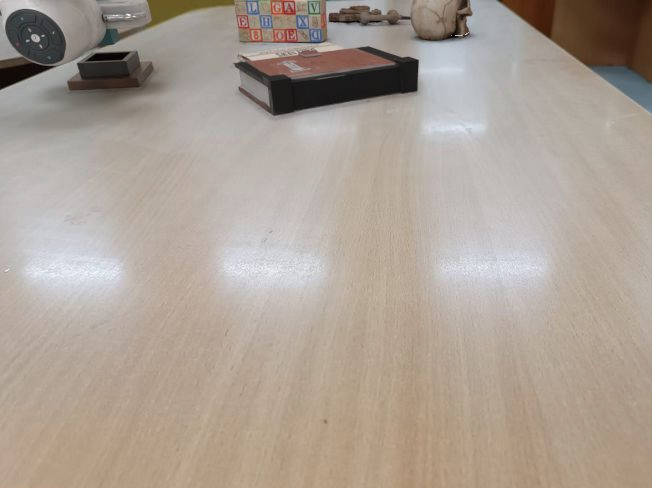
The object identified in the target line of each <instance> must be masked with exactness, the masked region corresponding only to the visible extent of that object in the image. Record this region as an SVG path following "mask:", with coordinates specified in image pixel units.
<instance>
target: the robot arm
mask: <svg viewBox="0 0 652 488" xmlns="http://www.w3.org/2000/svg"><path fill="white" fill-rule="evenodd" d="M0 16H1V23H2V30H3V34H4V36H5V38H6V41H7V42H8V43H9V45H10V46H11V48H12V49H13V50H14V51H15V52H16V53H17V54H19V55H20V56H21V57H22V58H24V59H26V60H28V61H29V62H32V63H33V64H34V63H35V64H36V65H37V64H38V65H40V66H47V67H56V66H62V65H66V64H68V63H70V62H72V61H75V60H76V59H78V58H80V57H82V55H84V54H85V53H87V52H88V51H90V50H92V49H93V48H95V47H96V45H97V44H99V43H100V42H101V41H102V39H103V38H104V35H105V32H106V29H117V30H119V29H120V30H121V29H134V28H139V27H140V28H141V27H144V26H146V25H148V24H151V22H152V14H151V10H150V5H149V2H148V0H97V1H95V0H0Z"/></svg>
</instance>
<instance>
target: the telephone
mask: <svg viewBox="0 0 652 488" xmlns="http://www.w3.org/2000/svg"><path fill="white" fill-rule="evenodd" d="M382 13H383V12H382V10H381V9H379V8H374V9H371V6H369V5H351V6H350V7H347V8H345V7H342V8H340V9H339V11H338V12H329V13H328V22H355V21H356V22H359V23H360V24H361V25H367V24H369V23H370V22H384V21H387V22H388V24H390V25H391V24H393V25H394V24H396V23H397V22H398V21H411V17H410V16H409V15H408V16H407V15H406V16H405V15H402V14H399V12H398V11H397V10H396V9H390V10H388V11H387V12H386V14H382Z"/></svg>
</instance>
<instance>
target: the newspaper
mask: <svg viewBox="0 0 652 488" xmlns="http://www.w3.org/2000/svg"><path fill="white" fill-rule="evenodd" d="M342 49H346V48H345V47H343V46H341V45H338V44H335V43H332V42H329V41H326V42H324V41H323V42H316V43H310V44H303V45H302V44H301V45H295V46H288V47H281V48H280V47H279V48H274V49H273V48H272V49H265V50H257V51H256V50H255V51H250V52H249V51H248V52H241V53H237V54H236V60H237V61H234V62H232V64H233V65H235V63H238V62H246V61H254V60H262V59H270V58H278V57H286V56H294V55H298V52H302V51H307V50H309V51H311V50H315V51H317V52H326V51H334V50H342Z"/></svg>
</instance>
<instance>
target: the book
mask: <svg viewBox="0 0 652 488" xmlns="http://www.w3.org/2000/svg"><path fill="white" fill-rule="evenodd" d="M237 62H238V63H235V62H234V67H235V68H236V69H238V70H239V78H240V84H241V85H238V86H237V87H238V91H239V92H241V93H242V94H243V95H245V96H246V97H247V98H249V99H250V100H251V101H254V102H255V103H256V104H257V105H258V106H260V107H261V108H263V109H264V110H265V111H267V112H268V113H269V114H271V115H272V116H279V115H285V114H290V113H294V112H295V111H301V110H306V109H313V108H318V107H325V106H331V105H335V104H336V105H337V104H341V103H342V104H343V103H347V102H354V101H359V100H365V99H371V98H377V97H382V96H389V95H394V94H406V93H413V92H417V91H418V86H419V68H420V66H419V65H420V60H419V59H417V58H415V57H412V56H399V55H396V54H393V53H391V52H387V51H385V50H381V49H378V48H376V47H372V46H369V45H367V46H360V47H359V46H358V47H352V48H345V49H342V50H334V51H326V52H317V51H315V50H311V51H309V50H307V51H302V52H298V55H294V56H286V57H278V58H270V59H262V60H254V61H246V62H239V61H237Z"/></svg>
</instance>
